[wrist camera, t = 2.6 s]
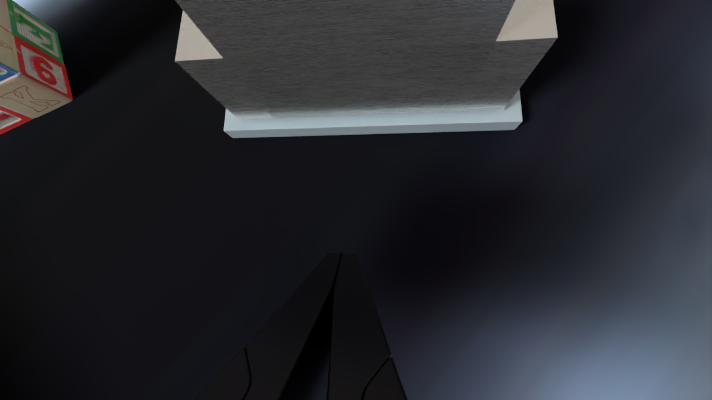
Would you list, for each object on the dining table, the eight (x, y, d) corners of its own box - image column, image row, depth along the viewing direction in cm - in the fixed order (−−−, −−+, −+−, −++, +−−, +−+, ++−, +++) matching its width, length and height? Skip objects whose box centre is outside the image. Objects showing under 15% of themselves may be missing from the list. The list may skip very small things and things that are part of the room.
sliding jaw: (503, 110, 15) (651, -87, 6) (238, 119, 17) (78, -28, 8) (497, 40, 16) (622, -219, 7) (245, 55, 17) (105, -141, 9)
